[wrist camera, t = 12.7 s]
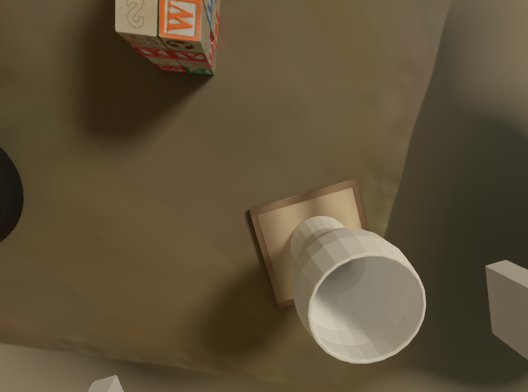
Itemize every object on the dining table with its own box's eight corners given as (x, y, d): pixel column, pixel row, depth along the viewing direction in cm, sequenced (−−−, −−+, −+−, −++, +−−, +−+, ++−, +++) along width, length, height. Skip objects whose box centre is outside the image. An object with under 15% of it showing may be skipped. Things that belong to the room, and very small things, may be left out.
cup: (347, 192, 37) (416, 226, 22) (369, 267, 39) (446, 344, 24) (267, 220, 37) (281, 273, 22) (293, 294, 39) (323, 387, 24)
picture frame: (278, 306, 40) (278, 309, 39) (249, 209, 37) (249, 210, 36) (377, 277, 40) (380, 279, 39) (356, 178, 37) (358, 179, 36)
